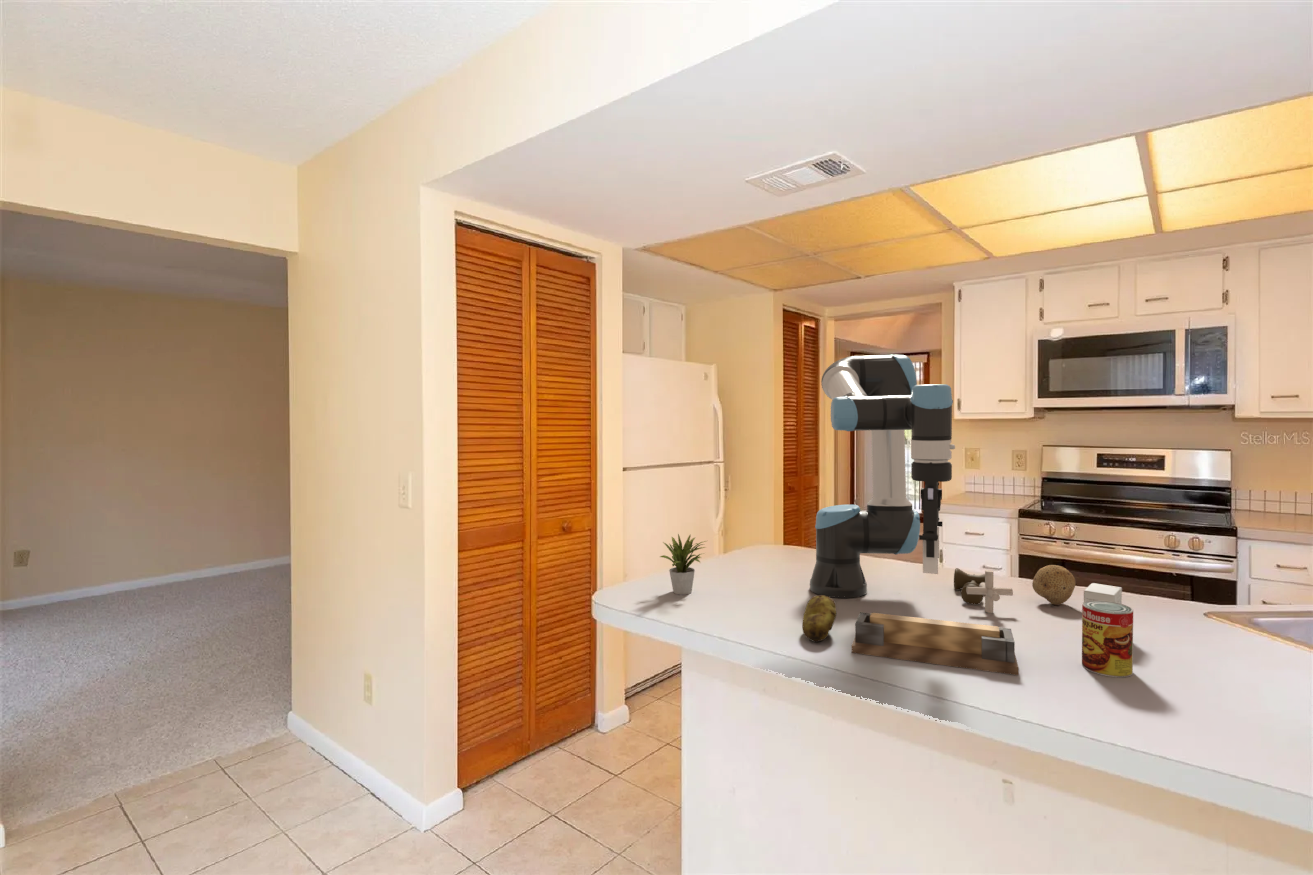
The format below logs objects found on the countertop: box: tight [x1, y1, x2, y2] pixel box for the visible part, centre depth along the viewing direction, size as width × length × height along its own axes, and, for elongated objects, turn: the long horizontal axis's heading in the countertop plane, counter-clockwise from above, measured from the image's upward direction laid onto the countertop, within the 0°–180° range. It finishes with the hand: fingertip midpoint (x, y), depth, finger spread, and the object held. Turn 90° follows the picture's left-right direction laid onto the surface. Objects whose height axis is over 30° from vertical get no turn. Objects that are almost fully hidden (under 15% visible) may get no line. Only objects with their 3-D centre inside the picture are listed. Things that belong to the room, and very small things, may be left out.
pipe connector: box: [966, 569, 1014, 614], centre depth 155 cm, size 10×10×10 cm
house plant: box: [659, 533, 707, 596], centre depth 176 cm, size 14×14×16 cm
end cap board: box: [851, 612, 1020, 676], centre depth 130 cm, size 30×12×6 cm, turn 65°
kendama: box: [953, 567, 985, 605], centre depth 170 cm, size 6×10×20 cm
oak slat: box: [870, 612, 1000, 655], centre depth 130 cm, size 24×3×5 cm, turn 65°
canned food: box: [1081, 600, 1134, 678], centre depth 121 cm, size 8×8×12 cm
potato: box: [801, 594, 837, 643], centre depth 142 cm, size 8×13×8 cm, turn 140°
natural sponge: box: [1031, 564, 1076, 606], centre depth 160 cm, size 9×9×10 cm
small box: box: [1083, 582, 1123, 604], centre depth 138 cm, size 8×6×10 cm
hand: (931, 565), depth 130 cm, fingers open, 13 cm apart
